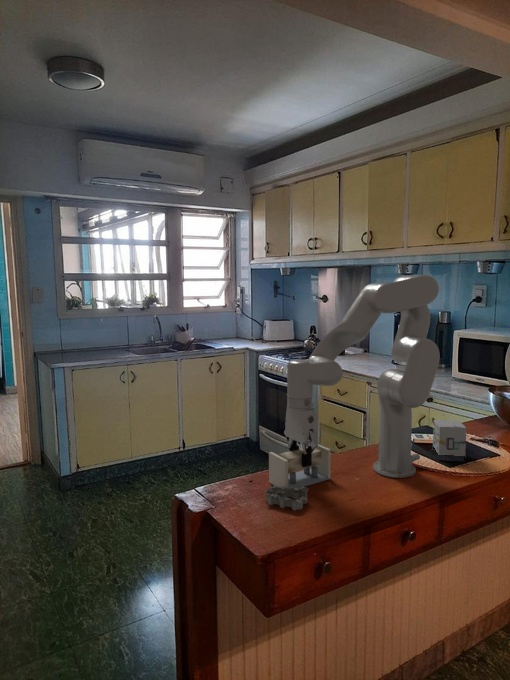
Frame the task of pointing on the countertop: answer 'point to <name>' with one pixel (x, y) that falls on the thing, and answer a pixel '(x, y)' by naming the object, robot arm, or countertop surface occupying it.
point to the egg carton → (282, 493)
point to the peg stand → (301, 478)
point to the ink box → (449, 437)
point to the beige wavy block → (300, 459)
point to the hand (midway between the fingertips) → (300, 462)
